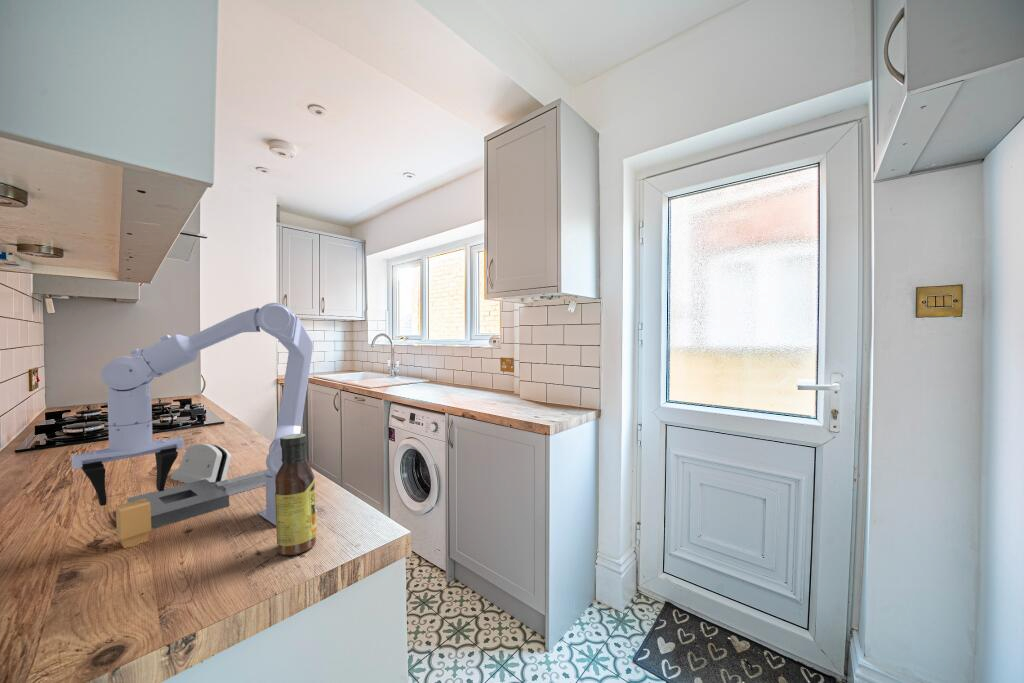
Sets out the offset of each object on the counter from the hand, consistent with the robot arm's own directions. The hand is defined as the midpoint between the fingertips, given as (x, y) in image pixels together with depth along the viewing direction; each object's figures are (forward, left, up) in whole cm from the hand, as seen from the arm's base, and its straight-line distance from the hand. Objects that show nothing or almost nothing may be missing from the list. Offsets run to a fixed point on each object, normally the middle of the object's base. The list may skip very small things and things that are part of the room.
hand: (132, 496), depth 72 cm
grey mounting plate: (+12, -15, -8) cm, 21 cm away
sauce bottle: (-26, -17, -9) cm, 32 cm away
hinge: (+30, -18, -9) cm, 36 cm away
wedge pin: (0, 0, -8) cm, 9 cm away
